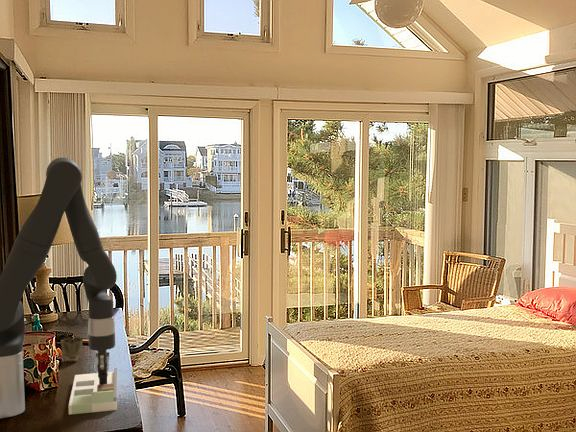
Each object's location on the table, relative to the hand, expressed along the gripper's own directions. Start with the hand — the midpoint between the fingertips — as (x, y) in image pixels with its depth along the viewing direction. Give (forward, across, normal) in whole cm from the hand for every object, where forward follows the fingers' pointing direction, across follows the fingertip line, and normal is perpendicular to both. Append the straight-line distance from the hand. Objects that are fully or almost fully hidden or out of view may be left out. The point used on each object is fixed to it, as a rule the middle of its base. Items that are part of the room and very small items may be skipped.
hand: (103, 389), depth 191 cm
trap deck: (+3, +5, +2) cm, 6 cm away
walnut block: (+1, -4, -1) cm, 4 cm away
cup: (+4, +44, +12) cm, 46 cm away
